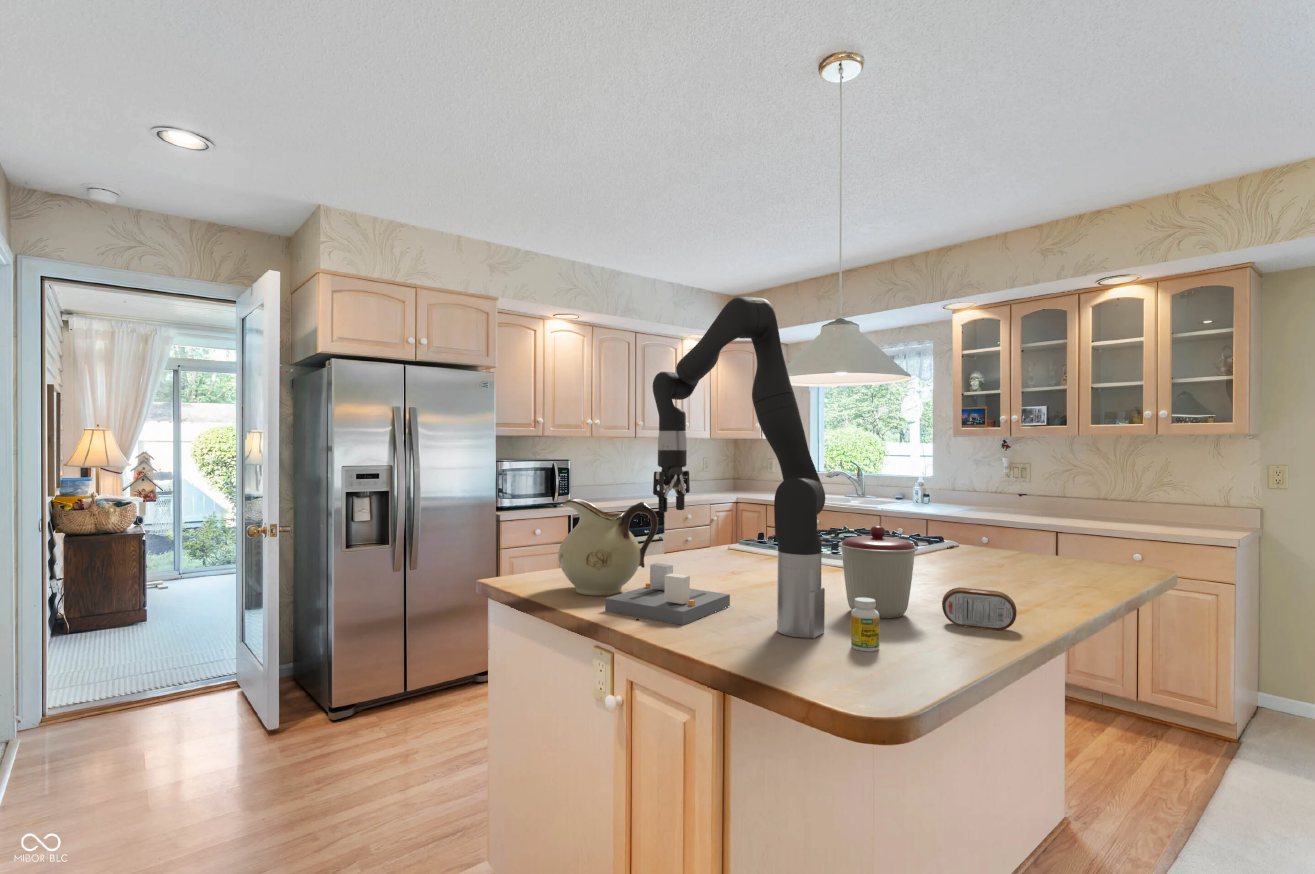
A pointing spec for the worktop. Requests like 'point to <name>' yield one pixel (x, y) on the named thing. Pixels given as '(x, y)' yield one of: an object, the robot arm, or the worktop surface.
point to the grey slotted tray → (666, 605)
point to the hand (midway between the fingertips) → (671, 511)
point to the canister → (879, 571)
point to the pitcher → (603, 548)
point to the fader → (677, 588)
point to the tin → (979, 608)
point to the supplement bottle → (865, 625)
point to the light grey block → (659, 575)
